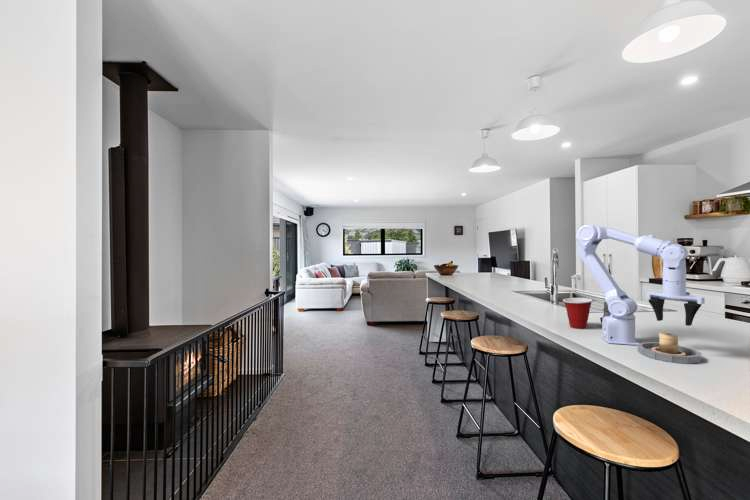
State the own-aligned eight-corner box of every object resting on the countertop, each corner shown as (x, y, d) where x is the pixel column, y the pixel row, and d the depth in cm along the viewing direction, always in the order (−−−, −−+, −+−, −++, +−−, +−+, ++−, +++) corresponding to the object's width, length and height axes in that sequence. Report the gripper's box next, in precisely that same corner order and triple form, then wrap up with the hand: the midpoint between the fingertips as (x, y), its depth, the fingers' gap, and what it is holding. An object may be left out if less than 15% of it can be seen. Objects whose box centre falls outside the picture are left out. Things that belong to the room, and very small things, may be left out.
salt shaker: (619, 329, 139) (619, 300, 138) (603, 329, 140) (603, 300, 140) (612, 326, 144) (612, 298, 144) (597, 325, 146) (597, 297, 145)
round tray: (650, 360, 102) (650, 354, 102) (630, 346, 116) (630, 340, 116) (713, 366, 98) (713, 359, 98) (684, 350, 112) (684, 344, 112)
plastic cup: (558, 324, 149) (558, 296, 149) (584, 324, 148) (585, 297, 147) (569, 330, 138) (569, 301, 138) (597, 330, 137) (597, 301, 137)
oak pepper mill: (663, 355, 106) (663, 335, 105) (656, 350, 110) (656, 332, 110) (680, 356, 104) (680, 336, 104) (673, 351, 108) (673, 333, 108)
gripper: (709, 282, 105) (709, 326, 106) (654, 278, 119) (654, 317, 119) (698, 284, 102) (698, 328, 103) (643, 279, 115) (643, 319, 116)
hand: (673, 322), depth 111 cm, fingers open, 7 cm apart
